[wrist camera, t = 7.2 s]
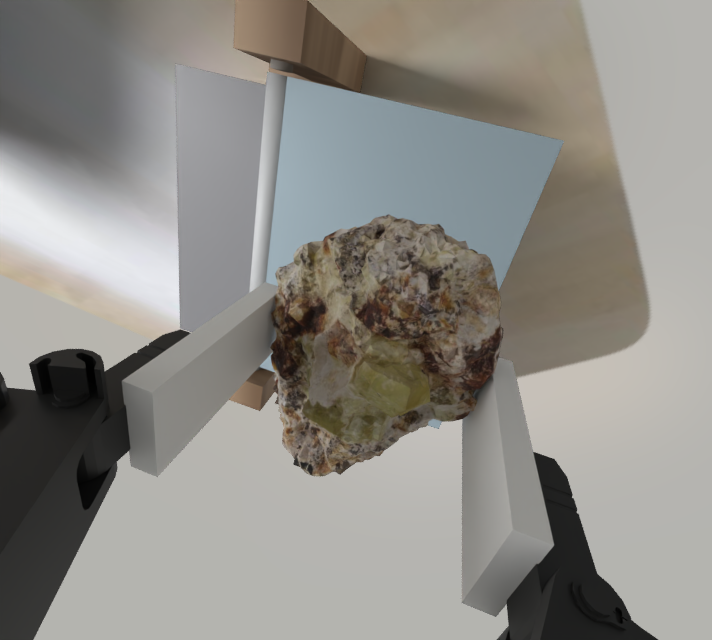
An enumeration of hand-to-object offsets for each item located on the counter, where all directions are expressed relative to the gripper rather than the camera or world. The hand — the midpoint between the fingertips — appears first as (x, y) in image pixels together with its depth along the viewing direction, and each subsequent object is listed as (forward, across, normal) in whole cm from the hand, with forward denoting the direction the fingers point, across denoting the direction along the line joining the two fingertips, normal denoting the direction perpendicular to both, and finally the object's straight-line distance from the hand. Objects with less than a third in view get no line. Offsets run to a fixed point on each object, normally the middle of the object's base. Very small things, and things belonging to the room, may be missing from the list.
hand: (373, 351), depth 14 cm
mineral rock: (0, 0, 0) cm, 0 cm away
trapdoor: (+14, -4, 0) cm, 15 cm away
